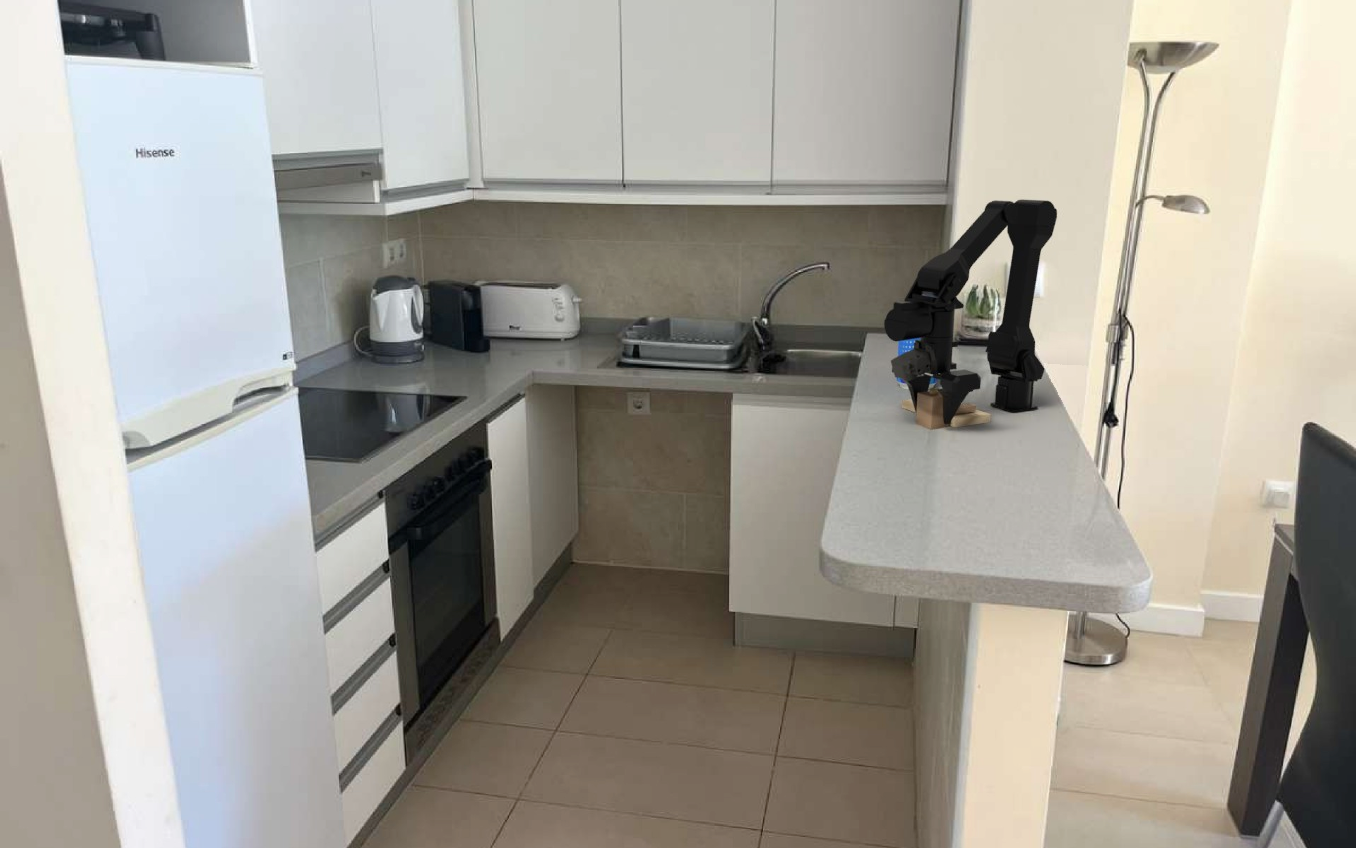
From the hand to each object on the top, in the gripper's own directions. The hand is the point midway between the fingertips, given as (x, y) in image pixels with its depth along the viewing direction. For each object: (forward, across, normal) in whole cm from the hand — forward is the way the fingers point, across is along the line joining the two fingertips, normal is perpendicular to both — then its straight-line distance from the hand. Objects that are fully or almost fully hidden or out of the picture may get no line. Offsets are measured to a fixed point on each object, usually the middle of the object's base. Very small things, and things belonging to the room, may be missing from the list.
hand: (932, 418), depth 184 cm
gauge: (+1, 0, +4) cm, 4 cm away
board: (+1, -5, +7) cm, 9 cm away
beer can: (+2, -26, +16) cm, 30 cm away
